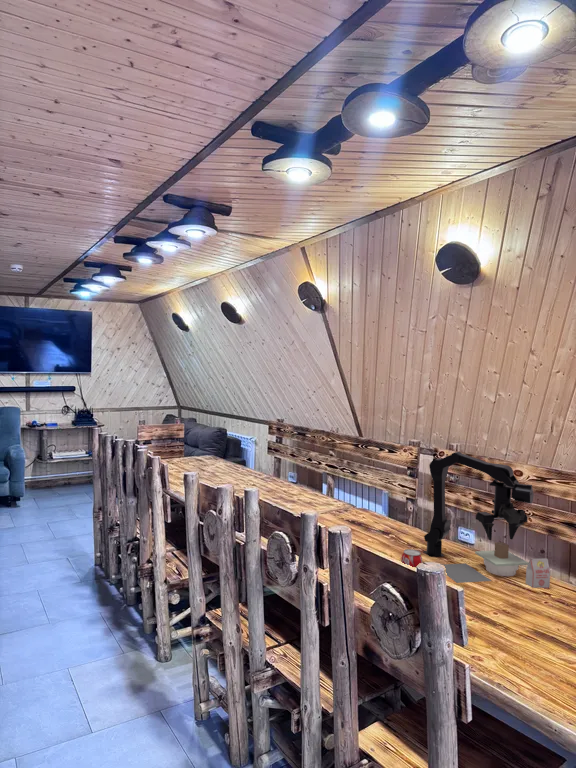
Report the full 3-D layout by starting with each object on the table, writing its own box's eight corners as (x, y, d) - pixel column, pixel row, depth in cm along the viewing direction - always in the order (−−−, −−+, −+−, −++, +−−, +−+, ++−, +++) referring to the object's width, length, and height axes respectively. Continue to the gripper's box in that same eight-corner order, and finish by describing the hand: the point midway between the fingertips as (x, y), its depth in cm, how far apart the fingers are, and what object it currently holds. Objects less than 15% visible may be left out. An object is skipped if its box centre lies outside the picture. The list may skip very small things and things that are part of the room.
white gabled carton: (525, 584, 183) (526, 557, 183) (542, 584, 184) (543, 556, 184) (532, 589, 179) (533, 560, 179) (549, 588, 180) (550, 560, 180)
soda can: (421, 591, 173) (423, 556, 173) (400, 589, 175) (401, 554, 175) (420, 583, 180) (422, 549, 180) (400, 581, 182) (401, 547, 182)
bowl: (477, 566, 199) (477, 553, 199) (504, 565, 201) (505, 552, 201) (496, 578, 187) (496, 565, 187) (524, 577, 190) (525, 564, 190)
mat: (433, 566, 197) (433, 564, 197) (465, 564, 201) (465, 563, 201) (456, 584, 181) (456, 582, 181) (491, 582, 184) (491, 580, 184)
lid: (475, 553, 199) (475, 538, 199) (505, 552, 202) (506, 537, 202) (496, 566, 186) (497, 550, 186) (528, 564, 189) (529, 549, 189)
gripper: (493, 504, 184) (491, 547, 184) (538, 503, 188) (536, 545, 188) (475, 497, 195) (474, 537, 195) (518, 496, 199) (516, 536, 199)
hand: (500, 539), depth 194 cm, fingers open, 9 cm apart
